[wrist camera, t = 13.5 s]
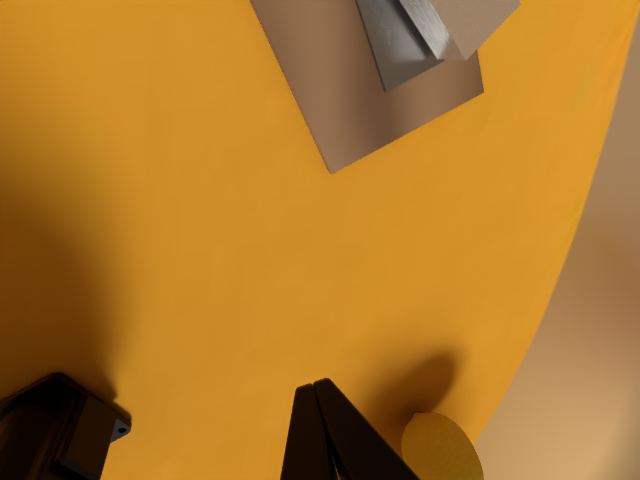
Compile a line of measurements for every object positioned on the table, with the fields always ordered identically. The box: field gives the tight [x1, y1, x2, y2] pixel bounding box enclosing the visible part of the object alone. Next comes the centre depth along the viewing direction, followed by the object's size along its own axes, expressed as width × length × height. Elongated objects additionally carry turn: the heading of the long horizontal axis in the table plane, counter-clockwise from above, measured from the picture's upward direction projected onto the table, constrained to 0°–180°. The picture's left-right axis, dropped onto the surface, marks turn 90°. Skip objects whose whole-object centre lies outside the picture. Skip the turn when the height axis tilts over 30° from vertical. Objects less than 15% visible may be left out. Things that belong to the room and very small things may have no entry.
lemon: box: [401, 412, 484, 480], centre depth 28 cm, size 6×6×8 cm
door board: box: [250, 0, 484, 174], centre depth 16 cm, size 9×12×1 cm
